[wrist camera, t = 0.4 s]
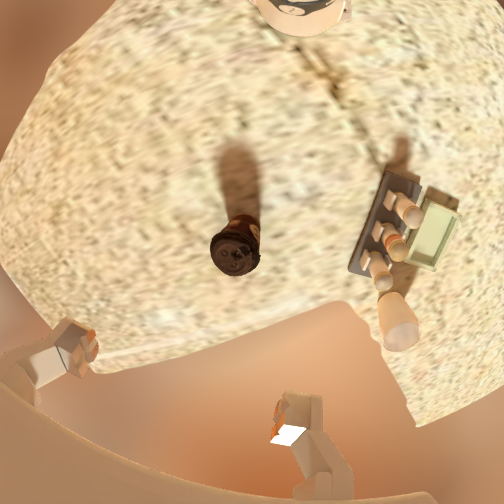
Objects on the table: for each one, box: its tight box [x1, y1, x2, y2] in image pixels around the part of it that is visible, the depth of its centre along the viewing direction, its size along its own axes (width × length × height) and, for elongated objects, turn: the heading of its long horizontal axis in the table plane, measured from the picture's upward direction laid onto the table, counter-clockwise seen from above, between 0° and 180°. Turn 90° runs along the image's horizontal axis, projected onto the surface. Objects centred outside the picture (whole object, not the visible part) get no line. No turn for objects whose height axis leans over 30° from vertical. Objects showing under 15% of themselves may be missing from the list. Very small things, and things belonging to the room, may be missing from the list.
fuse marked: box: [380, 222, 409, 262], centre depth 48 cm, size 4×4×9 cm
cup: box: [377, 292, 421, 352], centre depth 56 cm, size 9×9×12 cm
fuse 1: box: [368, 250, 394, 291], centre depth 51 cm, size 4×4×9 cm
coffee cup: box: [210, 213, 261, 276], centre depth 52 cm, size 9×8×13 cm
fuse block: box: [348, 171, 422, 278], centre depth 51 cm, size 22×8×5 cm, turn 168°
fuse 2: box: [392, 192, 424, 229], centre depth 44 cm, size 4×4×9 cm
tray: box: [403, 198, 462, 272], centre depth 50 cm, size 14×9×2 cm, turn 168°
